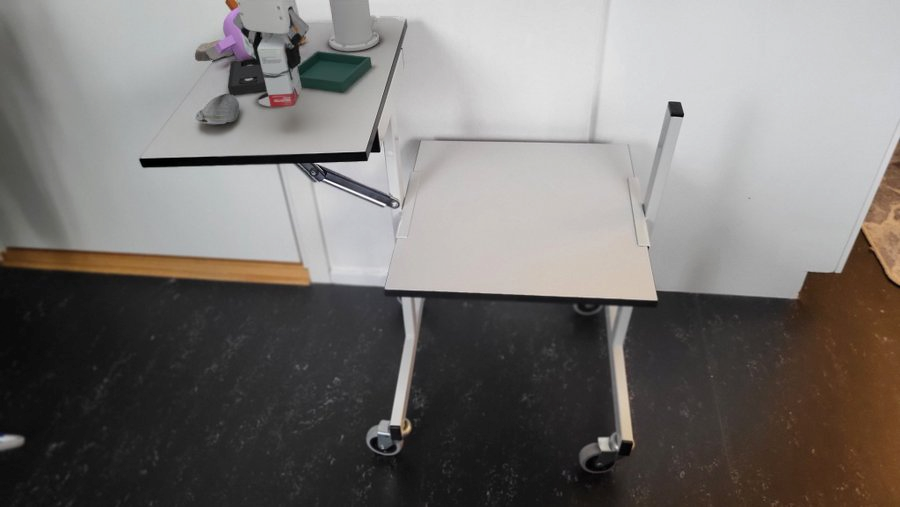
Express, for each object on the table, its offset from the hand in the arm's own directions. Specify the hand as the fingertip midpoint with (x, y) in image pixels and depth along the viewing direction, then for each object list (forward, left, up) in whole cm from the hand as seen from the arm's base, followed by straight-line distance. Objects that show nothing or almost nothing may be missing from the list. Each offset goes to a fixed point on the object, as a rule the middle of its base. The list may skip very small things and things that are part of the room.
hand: (279, 63), depth 127 cm
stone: (-27, -36, -14) cm, 48 cm away
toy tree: (-43, -43, -5) cm, 61 cm away
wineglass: (-9, -10, -13) cm, 19 cm away
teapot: (-26, -21, -4) cm, 34 cm away
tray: (-23, -4, -13) cm, 27 cm away
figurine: (-36, -28, -13) cm, 47 cm away
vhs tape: (-16, -21, -13) cm, 30 cm away
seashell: (+3, -15, -13) cm, 21 cm away
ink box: (0, 0, -7) cm, 7 cm away
